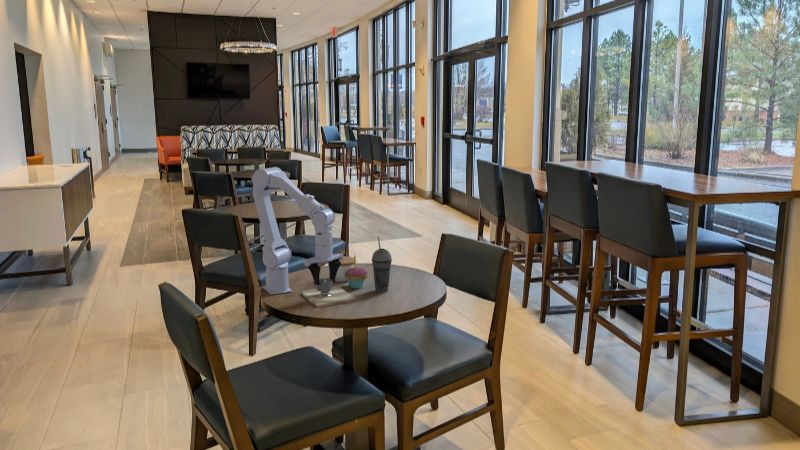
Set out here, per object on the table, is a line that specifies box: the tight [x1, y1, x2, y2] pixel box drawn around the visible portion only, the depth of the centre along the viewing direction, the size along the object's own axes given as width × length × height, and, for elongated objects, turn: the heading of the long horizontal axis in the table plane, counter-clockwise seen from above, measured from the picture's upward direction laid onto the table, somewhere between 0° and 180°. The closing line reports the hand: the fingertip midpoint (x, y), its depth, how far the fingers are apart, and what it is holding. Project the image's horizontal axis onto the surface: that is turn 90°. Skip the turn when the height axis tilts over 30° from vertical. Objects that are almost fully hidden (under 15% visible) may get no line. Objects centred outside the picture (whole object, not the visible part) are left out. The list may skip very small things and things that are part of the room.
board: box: [300, 285, 357, 308], centre depth 204 cm, size 16×14×1 cm
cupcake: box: [345, 253, 368, 289], centre depth 216 cm, size 9×8×12 cm
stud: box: [319, 292, 331, 297], centre depth 204 cm, size 4×4×2 cm
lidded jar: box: [327, 255, 354, 282], centre depth 225 cm, size 11×11×9 cm
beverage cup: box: [371, 236, 393, 294], centre depth 210 cm, size 7×7×20 cm
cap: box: [316, 277, 334, 292], centre depth 203 cm, size 5×6×4 cm
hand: (324, 282), depth 203 cm, fingers open, 6 cm apart
